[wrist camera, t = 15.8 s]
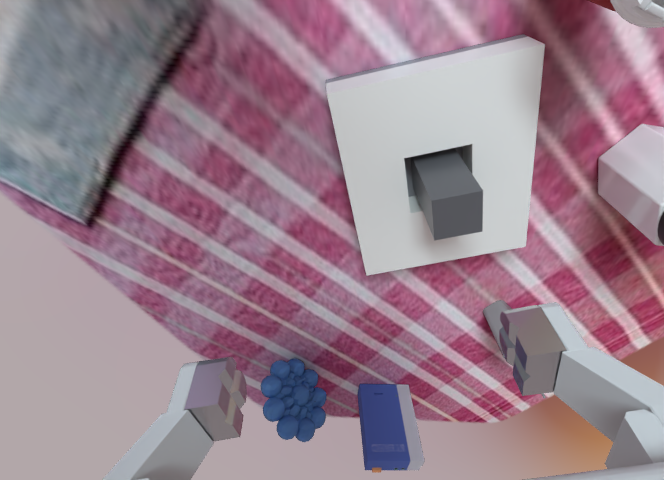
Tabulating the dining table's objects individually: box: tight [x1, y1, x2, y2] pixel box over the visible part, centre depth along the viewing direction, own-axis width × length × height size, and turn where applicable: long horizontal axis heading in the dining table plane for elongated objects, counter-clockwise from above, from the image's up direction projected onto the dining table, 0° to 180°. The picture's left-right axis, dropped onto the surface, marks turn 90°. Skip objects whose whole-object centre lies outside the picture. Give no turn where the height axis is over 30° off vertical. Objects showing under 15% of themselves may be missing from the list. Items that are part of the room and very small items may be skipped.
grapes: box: [261, 358, 326, 442], centre depth 55 cm, size 12×7×12 cm, turn 42°
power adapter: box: [483, 300, 546, 398], centre depth 50 cm, size 3×5×12 cm, turn 44°
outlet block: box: [326, 34, 545, 276], centre depth 39 cm, size 20×17×4 cm
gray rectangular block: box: [410, 148, 483, 241], centre depth 36 cm, size 4×4×9 cm
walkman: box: [358, 384, 424, 472], centre depth 59 cm, size 8×3×12 cm, turn 85°
